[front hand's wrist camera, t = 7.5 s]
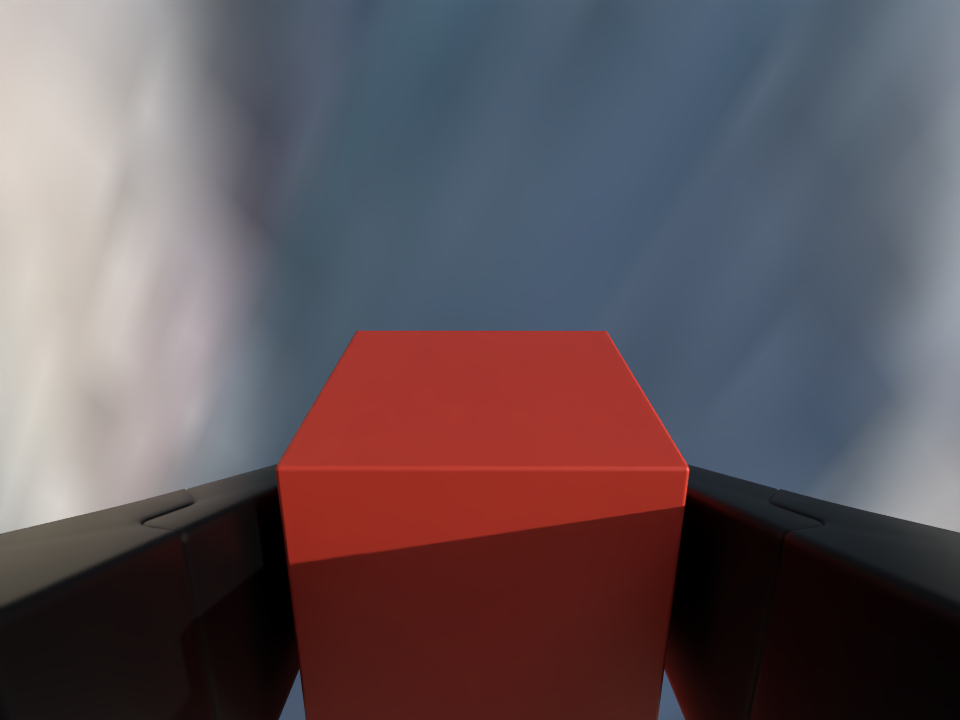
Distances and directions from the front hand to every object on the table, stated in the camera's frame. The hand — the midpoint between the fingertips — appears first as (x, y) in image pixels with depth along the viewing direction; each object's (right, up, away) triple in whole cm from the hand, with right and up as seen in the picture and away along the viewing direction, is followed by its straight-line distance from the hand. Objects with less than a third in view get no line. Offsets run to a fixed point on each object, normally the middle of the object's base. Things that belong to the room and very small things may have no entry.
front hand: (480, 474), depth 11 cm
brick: (0, 0, +1) cm, 1 cm away
